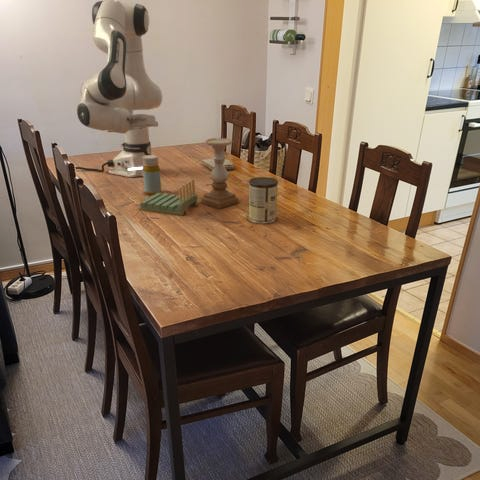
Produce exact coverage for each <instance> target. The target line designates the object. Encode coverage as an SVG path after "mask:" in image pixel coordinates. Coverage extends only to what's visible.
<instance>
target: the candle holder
mask: <svg viewBox="0 0 480 480" xmlns="http://www.w3.org/2000/svg"><path fill="white" fill-rule="evenodd" d="M205 144H206V145H208V146H211V147H212V149H213V152H214V154H213V155H212V158H211V159H213V160H214V162H215V166H214V168H213V170H211V171H210V174H209V178H210V180H211V181H212V183H211V188H212V189H211V190H210V191H209V192H207V193H204V194H203V196H202V197H201V198H200V203H201V204H204V205H207V206H210V207H214V208H216V209H224V208H226V207H229V206H233V205H235V204H238V203H239V197H237V196H236V194H235V193H232V192H230V191H229V190H227V188H228V184H227V181H228V180H229V177H230V176H229V172H228V170H226V169H225V167H224V161H225V159H227V157H226V155H225V154H224V153H225V149H226V148H227V146H230V145H232V144H233V140H232V139H230V138H226V137H225V138H224V137H212V138H208V139H206V140H205Z"/></svg>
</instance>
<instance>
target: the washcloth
mask: <svg viewBox="0 0 480 480" xmlns="http://www.w3.org/2000/svg"><path fill="white" fill-rule="evenodd" d="M200 162H201V164H202V165H203V166H205V167H207V168H208V169H209V170H211V171H212V170H213V168H214V166H215V162H214V160H213V159H212V158H205V159H204V158H203V159H202V160H201V161H200ZM224 167H225V169H226V171H229V170H230V171H231V170H234V169H235V167H234V163H233V162H232V161H231V160H229V159H227V158H226V159H225V161H224Z"/></svg>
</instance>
